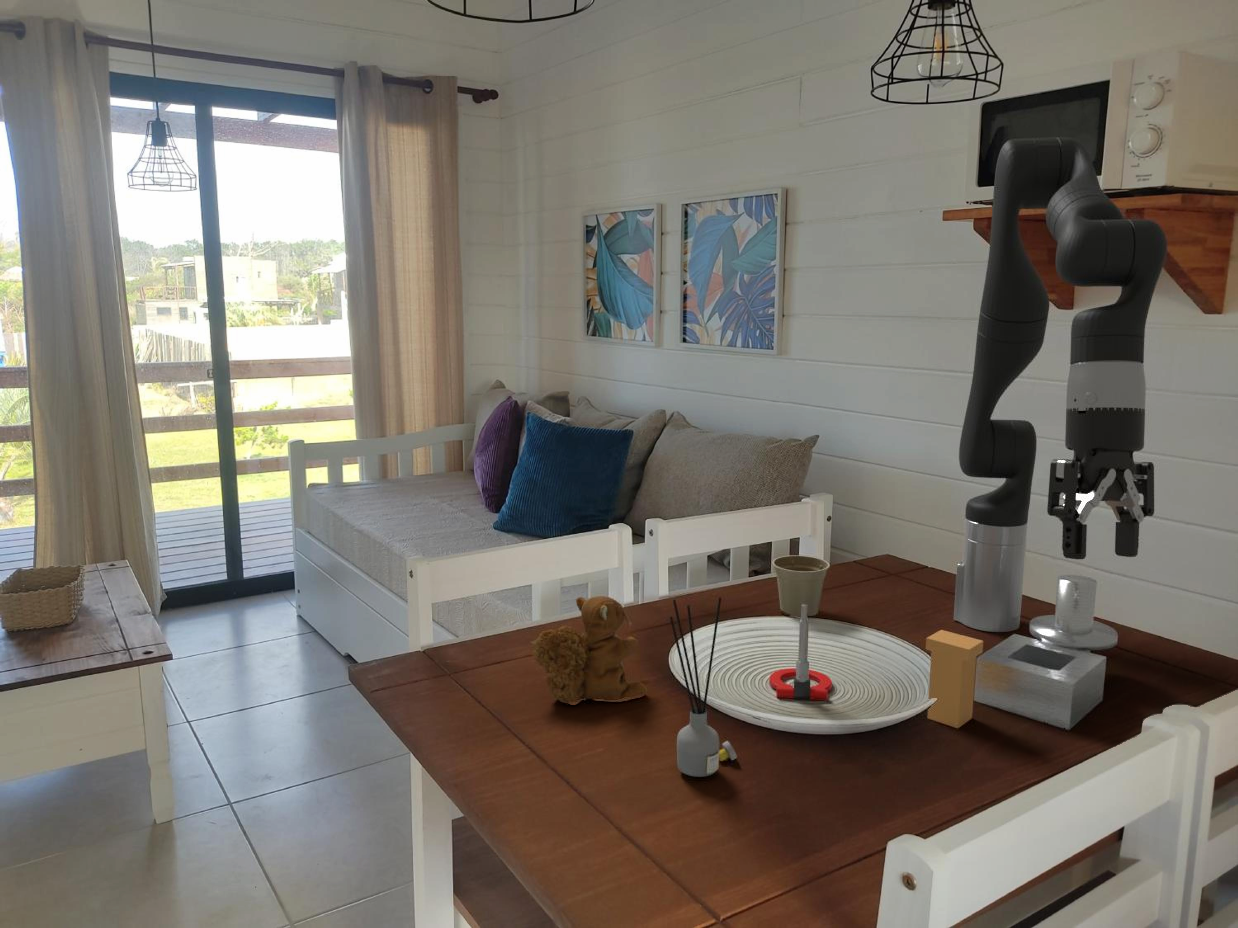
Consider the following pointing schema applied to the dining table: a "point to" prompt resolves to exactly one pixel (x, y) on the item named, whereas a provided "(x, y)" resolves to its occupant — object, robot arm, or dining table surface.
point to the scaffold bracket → (1050, 661)
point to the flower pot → (800, 582)
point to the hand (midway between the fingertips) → (1100, 557)
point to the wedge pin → (952, 676)
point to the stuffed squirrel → (589, 655)
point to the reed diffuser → (698, 720)
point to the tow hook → (801, 672)
